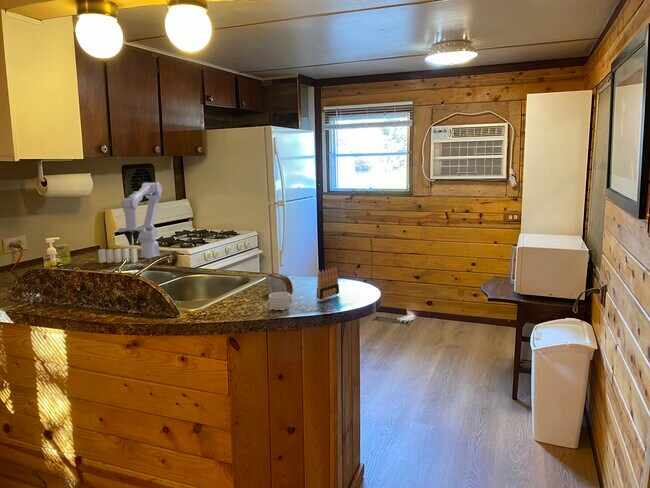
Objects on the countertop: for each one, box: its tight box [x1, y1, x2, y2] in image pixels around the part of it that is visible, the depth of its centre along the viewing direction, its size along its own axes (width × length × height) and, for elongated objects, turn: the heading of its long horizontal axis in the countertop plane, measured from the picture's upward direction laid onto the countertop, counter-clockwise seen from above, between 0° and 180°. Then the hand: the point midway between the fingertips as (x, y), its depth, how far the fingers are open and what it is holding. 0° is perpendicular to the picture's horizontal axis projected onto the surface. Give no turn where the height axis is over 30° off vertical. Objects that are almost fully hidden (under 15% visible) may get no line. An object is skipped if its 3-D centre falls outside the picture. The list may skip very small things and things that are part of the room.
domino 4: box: [121, 248, 131, 263], centre depth 270 cm, size 2×5×7 cm, turn 177°
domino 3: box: [113, 248, 123, 264], centre depth 270 cm, size 2×5×7 cm, turn 177°
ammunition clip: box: [316, 265, 340, 299], centre depth 187 cm, size 11×2×12 cm, turn 136°
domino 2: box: [105, 248, 115, 264], centre depth 270 cm, size 2×5×7 cm, turn 177°
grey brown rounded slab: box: [265, 272, 294, 296], centre depth 193 cm, size 15×3×8 cm, turn 41°
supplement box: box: [52, 243, 72, 267], centre depth 264 cm, size 6×6×11 cm
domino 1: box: [97, 248, 107, 264], centre depth 270 cm, size 2×5×7 cm, turn 177°
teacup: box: [265, 292, 291, 310], centre depth 174 cm, size 10×8×5 cm
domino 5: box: [129, 248, 139, 263], centre depth 269 cm, size 2×5×7 cm, turn 178°
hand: (133, 244), depth 269 cm, fingers closed
